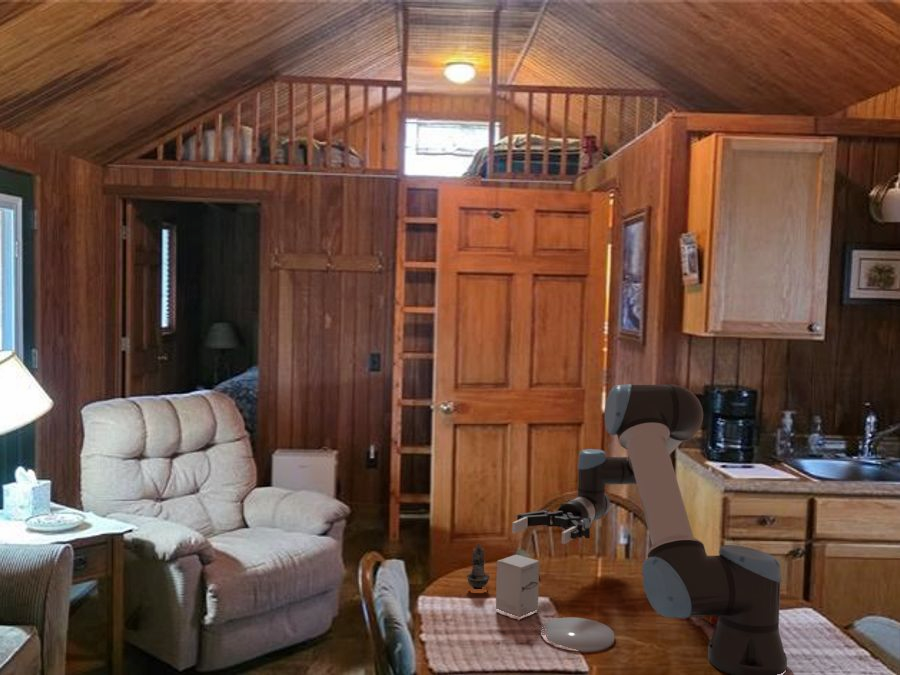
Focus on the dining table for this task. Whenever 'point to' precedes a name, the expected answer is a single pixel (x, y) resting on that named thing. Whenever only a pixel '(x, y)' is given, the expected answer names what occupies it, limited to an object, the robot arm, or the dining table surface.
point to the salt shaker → (478, 569)
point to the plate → (579, 634)
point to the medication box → (523, 553)
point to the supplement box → (517, 585)
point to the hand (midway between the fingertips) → (537, 533)
